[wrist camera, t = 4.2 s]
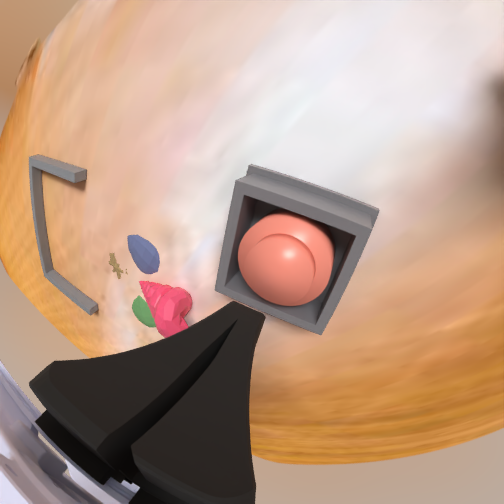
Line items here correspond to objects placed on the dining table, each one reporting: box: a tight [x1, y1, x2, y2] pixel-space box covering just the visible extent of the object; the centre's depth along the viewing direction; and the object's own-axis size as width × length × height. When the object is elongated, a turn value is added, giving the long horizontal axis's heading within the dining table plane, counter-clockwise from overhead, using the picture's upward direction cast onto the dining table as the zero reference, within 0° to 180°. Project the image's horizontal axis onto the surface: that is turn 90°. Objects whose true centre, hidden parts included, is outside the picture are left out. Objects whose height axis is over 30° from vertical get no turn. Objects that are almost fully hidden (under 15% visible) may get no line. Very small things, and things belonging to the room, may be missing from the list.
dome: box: [238, 208, 335, 306], centre depth 15 cm, size 5×5×3 cm
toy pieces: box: [109, 235, 192, 338], centre depth 23 cm, size 12×11×4 cm
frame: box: [29, 154, 98, 315], centre depth 27 cm, size 18×12×2 cm, turn 167°
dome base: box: [215, 164, 379, 335], centre depth 16 cm, size 8×8×3 cm
